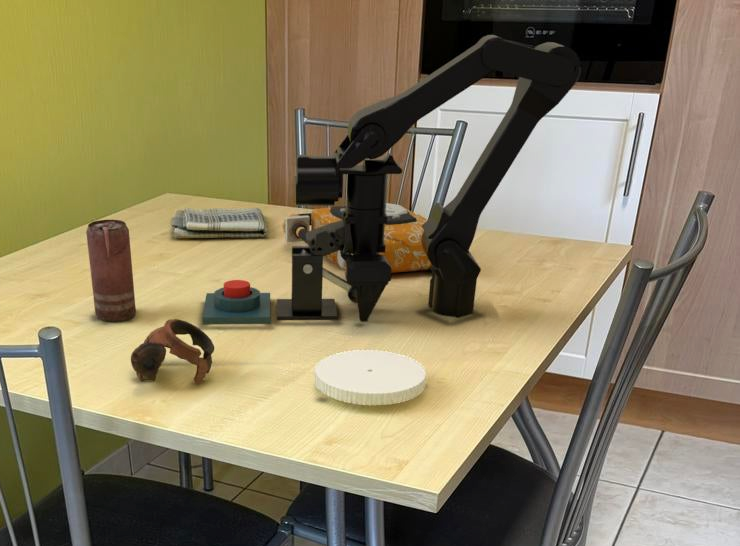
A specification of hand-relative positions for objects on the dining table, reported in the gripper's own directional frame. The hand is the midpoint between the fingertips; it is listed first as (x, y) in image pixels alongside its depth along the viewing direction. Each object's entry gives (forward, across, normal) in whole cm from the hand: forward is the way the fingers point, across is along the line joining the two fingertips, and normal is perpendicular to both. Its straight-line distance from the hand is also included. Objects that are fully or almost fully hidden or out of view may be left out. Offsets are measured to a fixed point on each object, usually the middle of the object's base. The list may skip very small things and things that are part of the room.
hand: (360, 310), depth 140 cm
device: (+1, -29, +2) cm, 29 cm away
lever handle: (-4, 0, -5) cm, 6 cm away
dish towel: (+1, -50, -24) cm, 56 cm away
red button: (-3, 0, -19) cm, 19 cm away
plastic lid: (+1, +28, -1) cm, 28 cm away
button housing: (+1, 0, -19) cm, 19 cm away
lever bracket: (+1, 0, -8) cm, 8 cm away
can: (+1, 0, -37) cm, 37 cm away
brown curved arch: (+1, +24, -27) cm, 36 cm away
